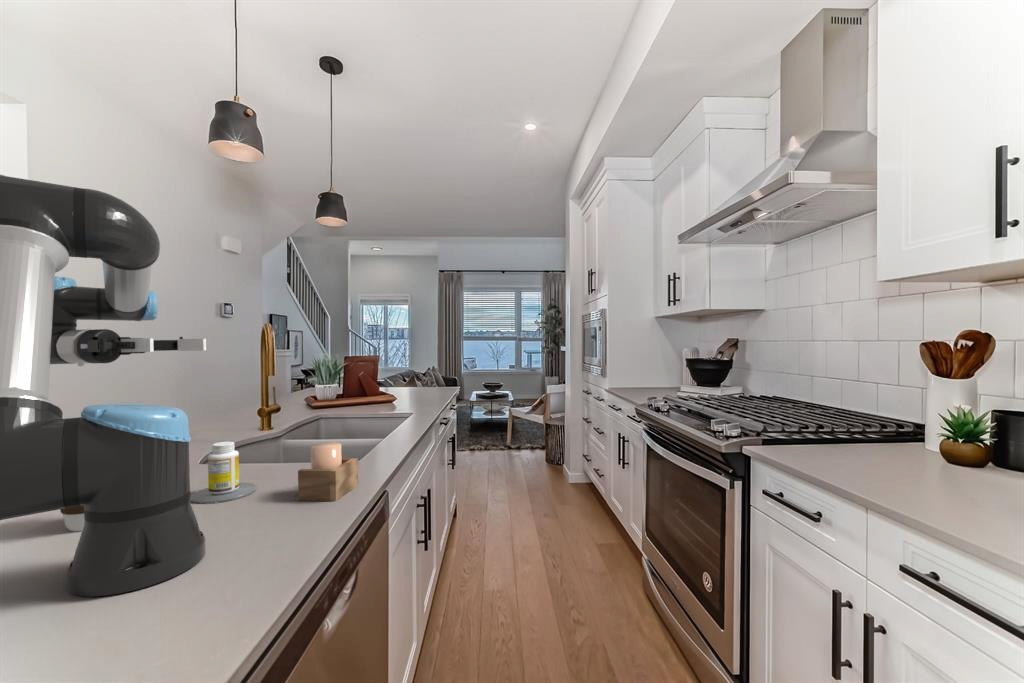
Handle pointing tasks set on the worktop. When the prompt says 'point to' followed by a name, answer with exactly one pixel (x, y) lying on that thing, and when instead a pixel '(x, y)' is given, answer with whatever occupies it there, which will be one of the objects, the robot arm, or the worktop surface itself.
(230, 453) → the supplement bottle
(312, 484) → the wooden base
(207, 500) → the slate coaster
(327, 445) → the peach cylinder
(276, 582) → the worktop surface
